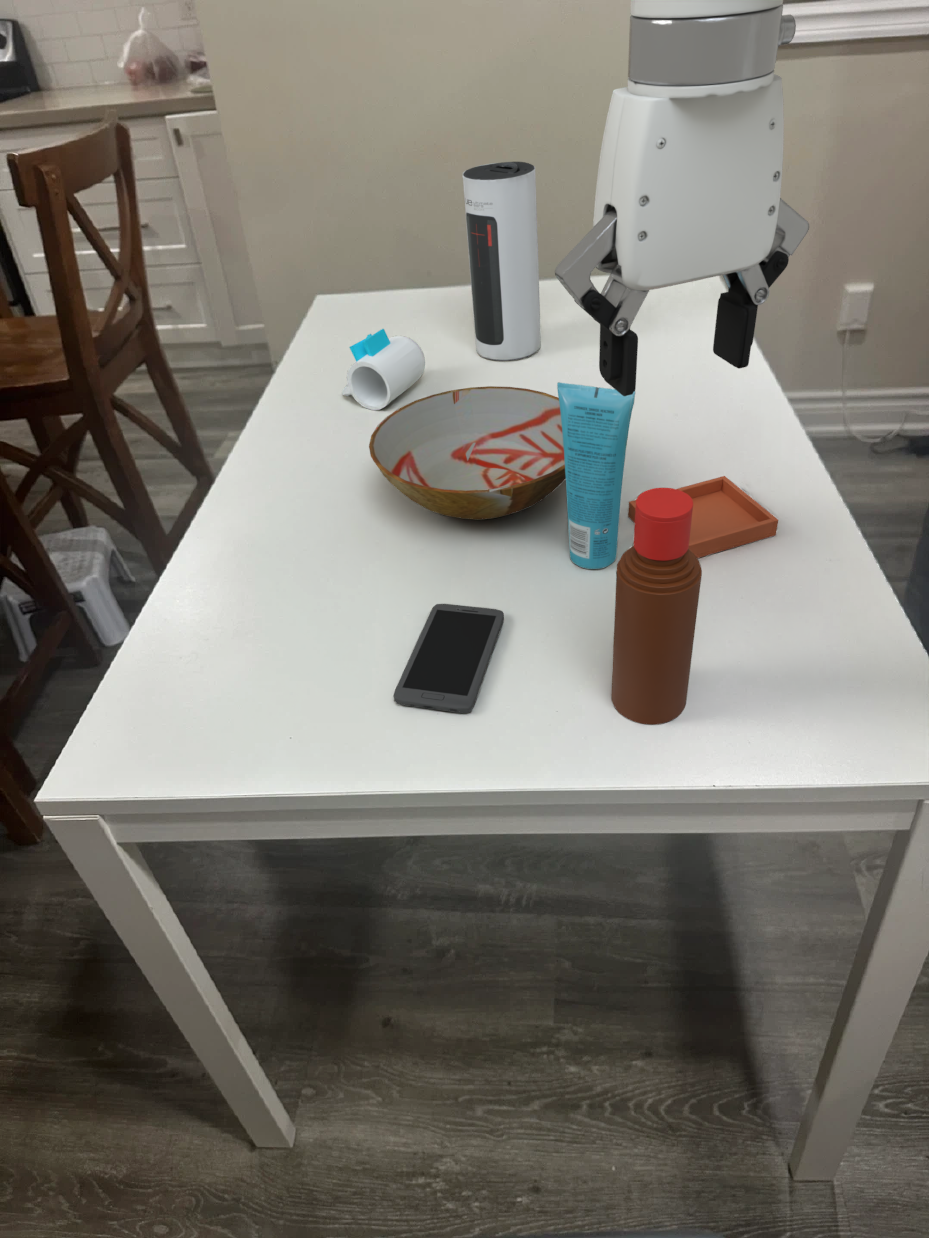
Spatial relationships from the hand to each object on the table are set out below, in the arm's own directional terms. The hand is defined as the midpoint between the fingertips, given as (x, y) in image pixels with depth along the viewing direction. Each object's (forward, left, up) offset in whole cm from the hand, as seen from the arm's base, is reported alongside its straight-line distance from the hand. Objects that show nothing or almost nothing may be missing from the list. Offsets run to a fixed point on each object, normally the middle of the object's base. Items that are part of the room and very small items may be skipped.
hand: (675, 372), depth 56 cm
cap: (0, 0, -14) cm, 14 cm away
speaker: (-18, -77, -30) cm, 85 cm away
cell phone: (+14, -12, -30) cm, 35 cm away
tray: (-18, -21, -30) cm, 41 cm away
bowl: (+1, -38, -30) cm, 48 cm away
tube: (-5, -21, -30) cm, 37 cm away
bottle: (0, 0, -30) cm, 30 cm away
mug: (+4, -72, -30) cm, 78 cm away
